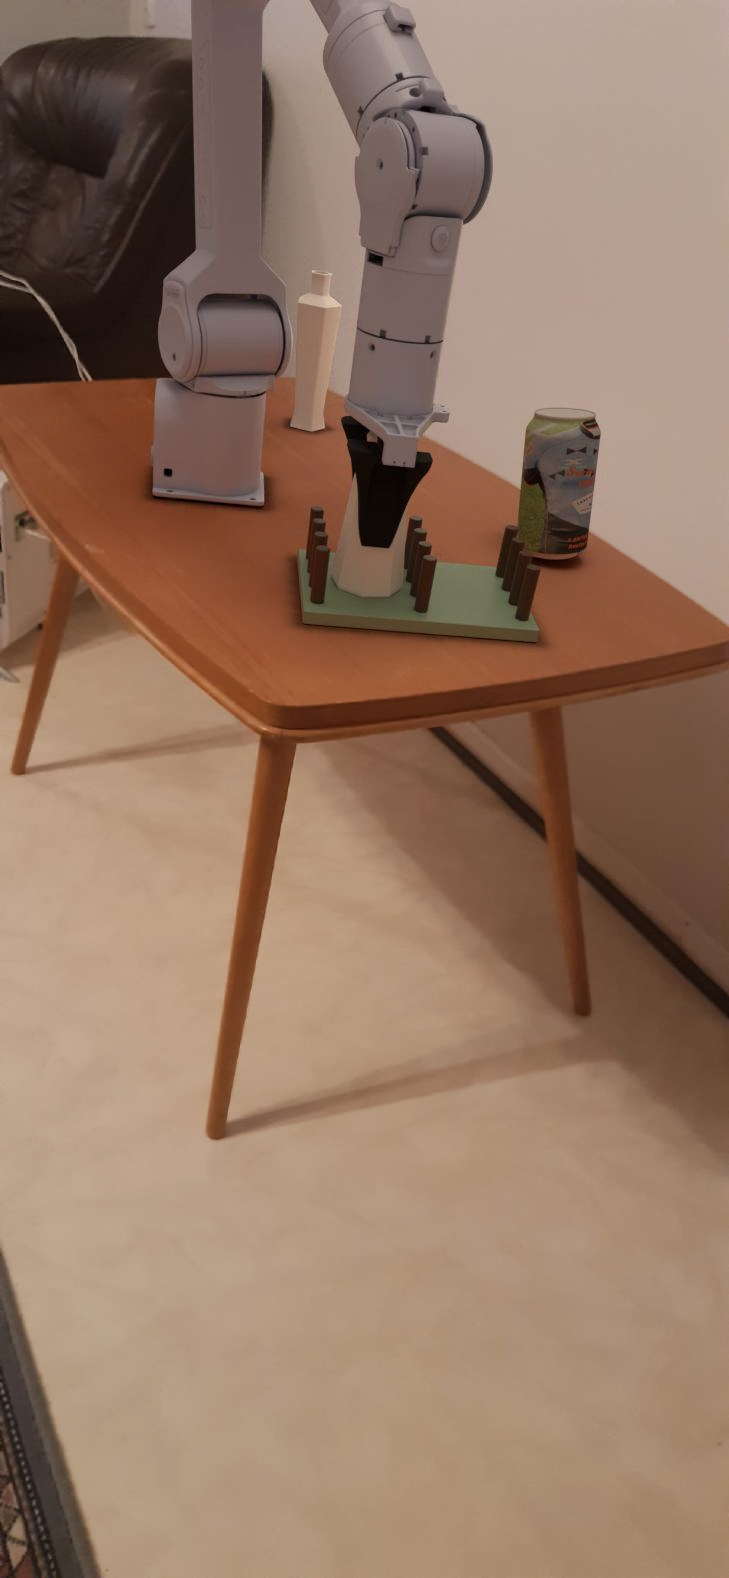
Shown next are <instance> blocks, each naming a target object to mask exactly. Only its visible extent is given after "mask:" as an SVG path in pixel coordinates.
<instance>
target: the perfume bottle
mask: <svg viewBox="0 0 729 1578" xmlns="http://www.w3.org/2000/svg"><path fill="white" fill-rule="evenodd" d="M311 275H312V276H311V277H312V278H311V286H310V292H307V293H305V294H303V295H301V296H300V297H299V298H298V300H297V316H296V317H297V321H296V348H295V349H296V350H295V351H296V353H295V379H294V380H295V381H294V382H295V383H294V384H295V385H294V408H293V409H294V410H293V413H292V416H291V419H290V424H289V427H291V428H295V429H298V430H303V431H307V432H316V431H320V430H325V429H326V425H325V417H324V409H325V404H326V398H327V393H328V387H329V380H330V375H331V370H332V364H333V360H334V359H333V358H334V353H335V348H336V342H337V336H338V330H339V325H340V321H341V314H342V310H343V309H342V308H343V305H342V304H341V303H339V302H338V301H337V300H336V299H335V298H333V296H331V295H330V288H331V280H332V276H333V273H331V272H328V271H326V270H316V269H311Z"/></svg>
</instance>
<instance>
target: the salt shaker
mask: <svg viewBox="0 0 729 1578" xmlns="http://www.w3.org/2000/svg"><path fill="white" fill-rule="evenodd" d="M377 439H378V436H377V435H376V434H374V433H373V432H372V431H370V432H369V433H368V434H367V441H371V442H376V443H377ZM351 482H352V481H351ZM407 518H408V505H407V506H406V509H405V511H404V514H403V516H402V519H401V522H400V524H399V527H398V530H397V532H396V535H395V537H394V539H393V542H392V544H391V546H390V548H378V547H367V546H361V542H360V537H359V528H358V491H357V481H356V474H355V475H354V478H353V482H352V483H351V487H350V491H349V496H348V499H347V504H346V508H345V513H344V517H343V521H342V525H341V528H340V529H341V530H340V534H339V538H338V543H337V546H336V550H335V552H336V555H335V559H334V563H333V567H332V572H331V576H332V578H333V580H334V582H335V584H336V585H337V587H338V589H340V590H343V591H346V592H348V593H351V594H354V595H357V596H359V597H362V598H388V597H390V596H392V595H393V594H395V593H396V592H398V591H399V590H401V589H402V588H403V573H404V556H405V543H406V537H407Z"/></svg>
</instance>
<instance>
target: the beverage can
mask: <svg viewBox="0 0 729 1578" xmlns="http://www.w3.org/2000/svg"><path fill="white" fill-rule="evenodd" d="M533 413H534V414H533V417H532V419H531V420H530V421H529V422H528V423H527V425H526V427H525V434H524V445H523V446H524V447H523V455H522V456H523V458H522V468H521V478H520V479H521V480H520V490H519V491H520V492H519V493H520V494H519V501H518V512H517V513H518V514H517V523H516V524H517V526H516V527H518V533H517V538H522V539H524V540H525V546H524V550H523V551H529V552H531V553H532V554H533V557H534V558H538V559H544V560H566V559H571V558H574V557H576V556H577V555H578V554H579V553H580V552H582V551H584V550H585V549H587V547H588V542H589V533H590V526H591V525H590V524H591V517H592V508H593V501H594V492H595V485H596V484H595V483H596V476H597V469H598V459H599V451H600V443H601V435H602V434H601V433H602V431H601V428H600V426H599V424H598V421H597V419H596V416H597V414H596V412H594V411H592V410H588V409H583V408H576V407H574V408H573V407H542V408H537V409H535V410H534V411H533Z"/></svg>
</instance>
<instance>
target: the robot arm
mask: <svg viewBox="0 0 729 1578" xmlns="http://www.w3.org/2000/svg"><path fill="white" fill-rule="evenodd" d="M270 1H271V0H190V23H191V25H190V28H191V69H192V70H191V72H192V74H191V76H192V119H193V120H192V122H193V123H192V125H193V126H192V127H193V171H194V172H193V173H194V175H193V176H194V179H193V180H194V219H195V220H194V221H195V223H194V224H195V225H194V226H195V250H194V251H193V252H192V253H191V254H190V255H189V256H188V257H187V258H185V260H184V261H182V262H181V263H180V264H179V265H178V266H176V267H175V268H174V269H173V270H172V271H171V272H169V273H168V274H167V275H166V276H165V277H164V279H163V286H162V304H161V311H160V314H159V318H158V326H157V341H158V348H159V352H160V353H159V354H160V357H161V360H162V362H163V364H164V366H165V368H166V370H167V371H168V373H169V374H170V376H171V377H172V378H170V377H169V378H168V377H159V378H157V379H156V383H155V390H154V391H155V392H154V406H153V407H154V409H153V444H152V445H151V447H150V466H151V467H152V468H153V469H152V490H151V491H152V493H151V494H152V495H153V496H155V497H158V498H159V497H161V498H171V499H181V500H193V501H201V502H213V503H224V504H232V505H233V504H234V505H243V506H254V507H262V506H264V505H265V477H264V471H261V469H262V455H263V442H264V430H265V418H266V417H265V416H266V405H267V404H266V401H267V391H273V390H275V387H276V385H275V384H276V379H278V378H280V377H281V376H283V374H285V372H286V370H287V367H288V366H289V363H290V361H291V358H292V353H293V345H294V337H293V328H292V324H291V320H290V317H289V311H288V301H287V300H288V299H287V285H286V284H285V282H284V281H283V280H282V279H281V277H280V276H279V275H278V274H277V273H276V272H275V271H274V270H273V269H272V268H271V267H270V265H268V263H267V262H266V261H265V260H264V258H263V257H262V162H263V159H262V157H263V156H262V154H263V153H262V151H263V150H262V149H263V147H262V144H263V143H262V141H263V137H262V136H263V23H264V22H263V18H264V17H263V16H264V11H265V9H266V7H267V6H268V4H269V3H270ZM309 2H310V3H311V5H312V7H313V9H314V11H315V13H316V15H317V16H318V18H319V20H320V21H321V23H322V25H323V27H324V28H325V31H326V32H327V37H326V39H325V42H324V45H323V49H322V65H323V70H324V72H325V74H326V76H327V79H328V81H329V83H330V86H331V89H332V90H333V93H334V95H335V96H336V99H337V101H338V103H339V105H340V108H341V110H342V112H343V115H344V116H345V120H346V121H347V123H348V126H349V128H350V130H351V132H352V134H353V136H354V139H355V142H356V144H357V146H358V148H359V155H356V156H355V157H354V185H355V191H356V197H357V199H358V204H359V210H360V211H359V213H360V214H359V215H360V217H359V218H360V219H359V227H358V228H359V229H358V236H359V237H360V246H361V247H362V248H365V252H364V253H365V254H364V261H363V269H362V278H361V287H360V296H359V304H358V310H357V311H358V312H357V321H356V329H355V339H354V344H353V345H354V346H353V353H352V362H351V369H350V379H349V388H348V393H347V394H346V395H345V397H344V406H343V409H344V411H345V413H346V414H347V415H344V416H342V417H341V418H340V421H341V422H340V423H341V426H342V429H343V433H344V435H345V438H346V447H347V451H348V455H349V457H350V465H351V479H352V481H351V482H353V478H354V475H355V474H356V481H357V491H358V528H359V537H360V542H361V546H367V547H378V548H390V546H391V544H392V542H393V539H394V537H395V535H396V532H397V530H398V527H399V524H400V522H401V519H402V516H403V514H404V511H405V509H406V506H407V507H408V504H409V502H410V499H411V497H412V496H413V494H414V492H415V490H416V489H417V487H418V485H419V484H420V483H421V482H422V480H423V478H424V477H425V476H426V475H427V474H428V473H429V472H430V470H431V468H432V465H433V462H434V458H433V456H432V454H431V452H429V451H427V452H426V451H419V450H418V447H419V441H420V438H421V437H422V436H423V435H424V434H425V433H426V431H427V430H428V429H429V428H430V427H431V425H432V424H434V423H439V424H440V423H442V424H444V423H445V424H447V423H448V422H449V419H450V414H451V412H450V409H449V408H448V407H447V405H444V404H439V403H435V396H436V392H437V391H436V390H437V384H438V378H439V373H440V372H439V371H440V367H441V361H442V353H443V347H444V341H445V335H446V330H447V325H448V319H449V318H448V317H449V311H450V307H451V300H452V295H453V288H454V282H455V276H456V271H457V270H456V269H457V263H458V258H459V253H460V251H459V250H460V245H461V239H462V233H463V229H464V228H463V227H464V226H465V225H467V224H469V223H470V222H472V221H473V220H474V219H476V217H477V216H478V215H479V214H480V212H481V211H482V209H483V208H484V205H485V203H486V202H487V198H488V196H489V194H490V189H491V186H492V181H493V172H494V158H493V157H494V156H493V151H492V150H493V149H492V144H491V141H490V139H489V136H488V132H487V127H486V125H485V122H483V120H482V119H481V118H479V117H478V116H476V115H474V114H471V113H466V112H465V113H464V112H461V111H460V110H459V108H458V105H457V104H452V103H449V101H448V99H447V98H446V94H445V91H444V88H443V85H442V84H441V82H440V80H439V79H438V77H437V76H436V73H435V72H434V69H433V67H432V65H431V64H430V61H429V59H428V57H427V55H426V53H425V50H424V48H423V47H422V44H421V42H420V40H419V38H418V35H417V34H416V32H415V30H416V28H417V22H416V20H415V18H414V16H413V14H412V12H411V10H410V8H408V7H403V6H401V5H400V4H398V3H396V2H394V1H392V0H309ZM214 294H223V295H226V294H229V295H231V294H233V295H247V297H248V298H209V297H208V298H207V297H206V296H208V295H214ZM370 431H372V432H373V433H374V434H376V435H377V436H378V439H377V443H376V442H371V441H367V434H368V433H369V432H370Z"/></svg>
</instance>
